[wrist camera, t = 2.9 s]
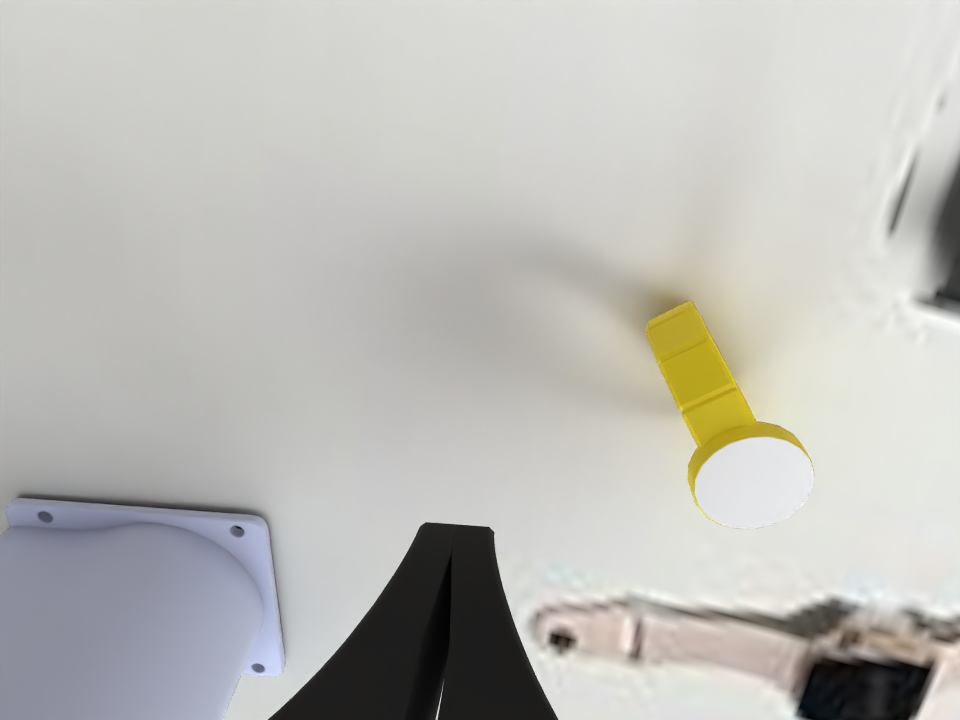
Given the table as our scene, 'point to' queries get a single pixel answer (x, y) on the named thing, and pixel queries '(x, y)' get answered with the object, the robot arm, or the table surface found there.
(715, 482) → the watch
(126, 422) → the table surface
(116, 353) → the table surface
